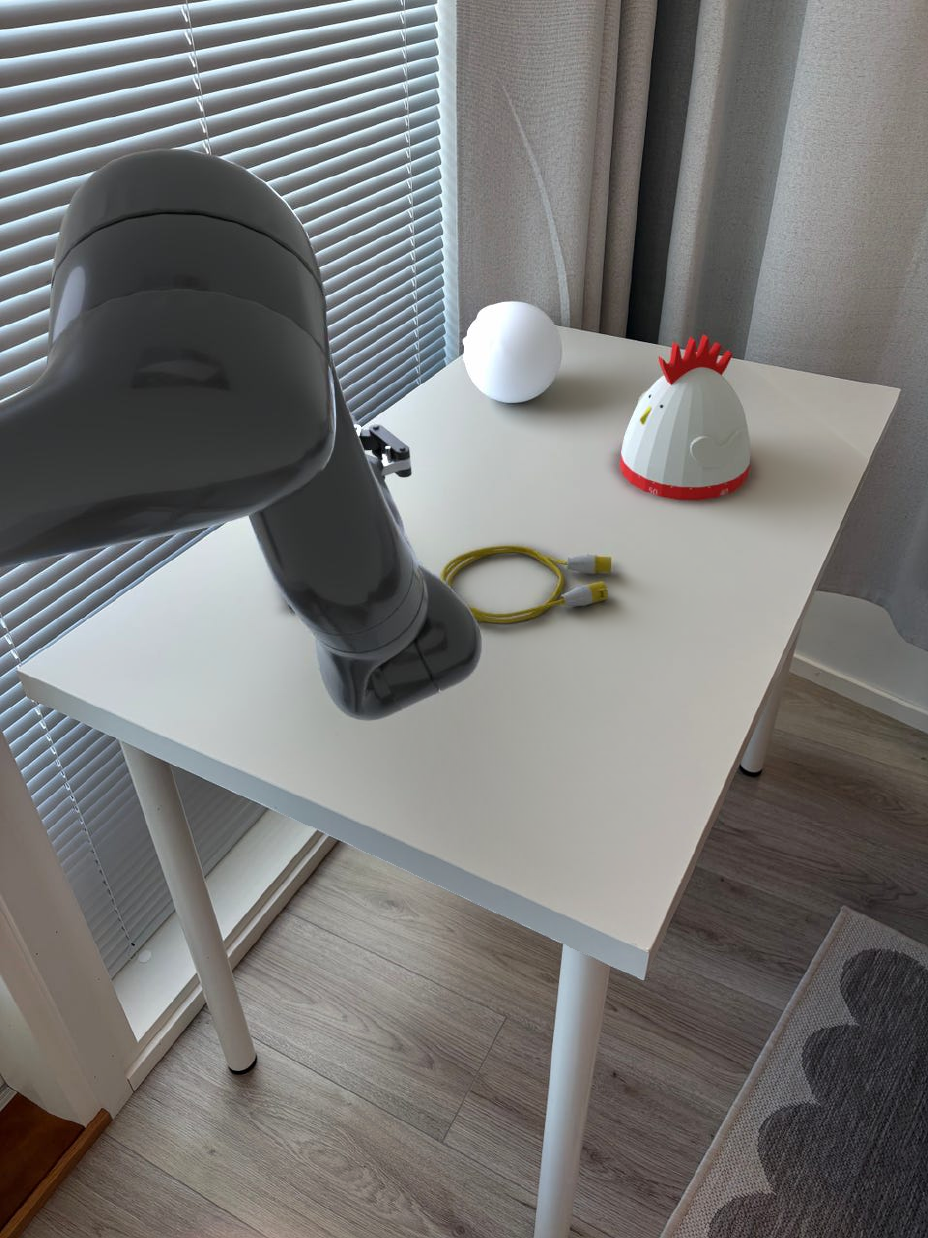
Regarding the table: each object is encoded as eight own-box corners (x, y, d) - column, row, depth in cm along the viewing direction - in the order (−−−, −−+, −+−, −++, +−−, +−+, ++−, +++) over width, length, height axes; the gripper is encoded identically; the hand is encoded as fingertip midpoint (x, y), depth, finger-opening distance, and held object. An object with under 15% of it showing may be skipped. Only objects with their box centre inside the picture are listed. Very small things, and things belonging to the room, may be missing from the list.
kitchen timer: (599, 451, 109) (606, 323, 99) (705, 427, 112) (722, 302, 102) (658, 512, 98) (672, 377, 89) (773, 484, 102) (798, 351, 92)
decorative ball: (475, 374, 126) (472, 284, 118) (566, 379, 123) (568, 288, 116) (457, 417, 117) (452, 322, 109) (554, 422, 114) (556, 326, 107)
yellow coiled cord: (580, 650, 82) (581, 633, 81) (420, 606, 88) (418, 589, 87) (625, 573, 90) (627, 556, 89) (476, 537, 96) (475, 520, 95)
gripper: (435, 461, 73) (385, 372, 86) (248, 496, 70) (226, 399, 83) (441, 542, 78) (393, 446, 90) (266, 578, 75) (242, 474, 88)
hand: (313, 424), depth 87 cm, fingers closed on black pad, 4 cm apart
